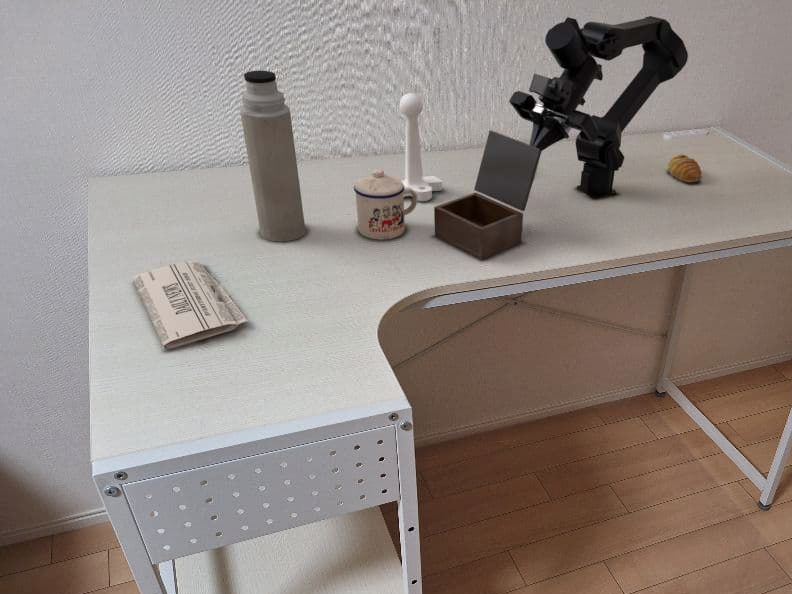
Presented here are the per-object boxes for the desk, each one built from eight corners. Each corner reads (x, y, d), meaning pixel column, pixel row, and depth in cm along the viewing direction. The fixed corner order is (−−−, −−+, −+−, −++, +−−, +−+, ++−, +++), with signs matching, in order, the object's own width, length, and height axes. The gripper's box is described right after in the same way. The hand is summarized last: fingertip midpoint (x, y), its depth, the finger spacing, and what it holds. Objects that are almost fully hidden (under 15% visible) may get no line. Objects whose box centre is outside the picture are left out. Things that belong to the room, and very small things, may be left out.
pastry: (707, 183, 175) (711, 167, 173) (681, 185, 173) (684, 169, 171) (689, 168, 182) (692, 152, 180) (663, 170, 180) (666, 154, 178)
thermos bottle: (277, 219, 146) (253, 63, 129) (313, 228, 144) (294, 71, 127) (251, 236, 140) (223, 75, 123) (289, 245, 138) (266, 83, 121)
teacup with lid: (369, 244, 140) (364, 183, 133) (349, 225, 146) (344, 165, 139) (428, 232, 146) (426, 173, 139) (407, 214, 152) (405, 156, 145)
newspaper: (251, 329, 116) (247, 316, 114) (168, 357, 111) (162, 343, 109) (211, 264, 130) (206, 251, 129) (135, 286, 125) (130, 273, 124)
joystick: (432, 184, 164) (430, 87, 152) (450, 196, 160) (449, 97, 148) (385, 193, 159) (379, 93, 147) (402, 207, 154) (398, 105, 142)
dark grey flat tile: (539, 149, 137) (542, 149, 137) (489, 130, 143) (492, 130, 143) (521, 210, 141) (524, 211, 141) (473, 189, 147) (476, 190, 148)
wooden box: (481, 260, 138) (482, 229, 135) (434, 236, 145) (434, 206, 141) (521, 243, 145) (523, 213, 141) (474, 221, 151) (475, 192, 148)
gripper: (518, 45, 143) (474, 116, 143) (596, 68, 134) (550, 144, 134) (543, 83, 153) (502, 149, 152) (617, 106, 143) (574, 178, 143)
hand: (530, 154), depth 145 cm, fingers closed
